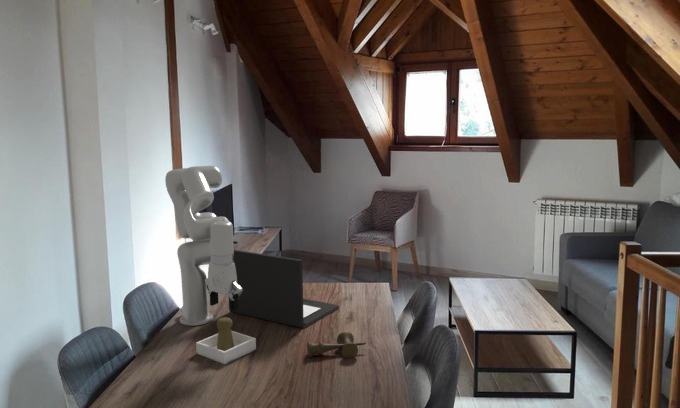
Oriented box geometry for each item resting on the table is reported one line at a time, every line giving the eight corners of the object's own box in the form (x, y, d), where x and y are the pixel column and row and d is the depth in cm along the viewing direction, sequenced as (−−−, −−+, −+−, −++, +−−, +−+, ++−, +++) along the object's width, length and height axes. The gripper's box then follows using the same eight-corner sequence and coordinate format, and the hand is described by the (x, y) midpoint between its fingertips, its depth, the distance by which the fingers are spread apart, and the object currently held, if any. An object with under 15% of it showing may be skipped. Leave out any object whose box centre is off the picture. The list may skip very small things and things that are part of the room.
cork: (231, 353, 177) (229, 322, 175) (213, 352, 178) (212, 321, 176) (237, 346, 183) (236, 315, 181) (220, 345, 184) (219, 315, 182)
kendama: (306, 351, 181) (363, 345, 184) (309, 364, 172) (369, 358, 175) (305, 335, 180) (362, 329, 183) (308, 347, 170) (369, 341, 174)
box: (196, 353, 179) (196, 342, 178) (228, 339, 190) (227, 329, 189) (224, 364, 170) (224, 352, 170) (256, 349, 182) (255, 338, 181)
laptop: (339, 308, 221) (338, 246, 217) (302, 330, 198) (300, 260, 194) (269, 294, 240) (267, 237, 236) (228, 313, 217) (225, 249, 213)
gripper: (196, 256, 177) (198, 305, 180) (231, 265, 167) (233, 317, 170) (213, 251, 183) (215, 299, 186) (249, 260, 173) (250, 310, 176)
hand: (224, 307), depth 178 cm, fingers open, 9 cm apart
